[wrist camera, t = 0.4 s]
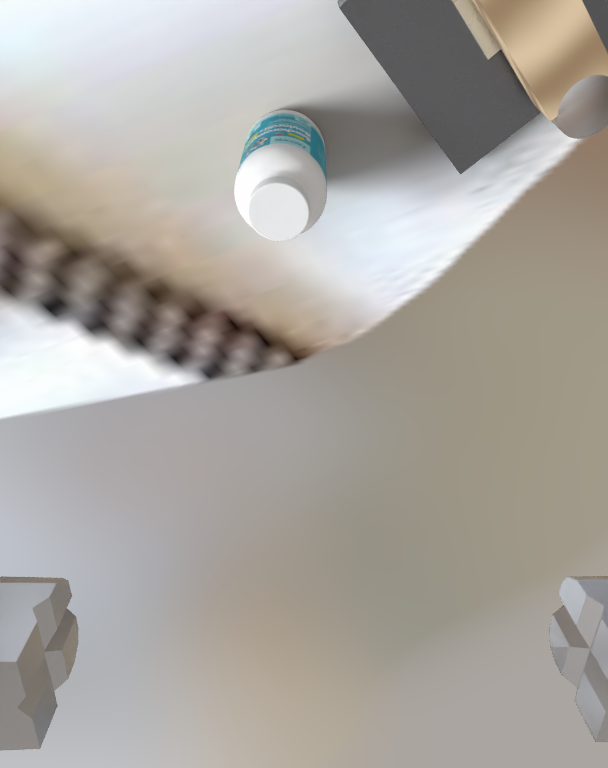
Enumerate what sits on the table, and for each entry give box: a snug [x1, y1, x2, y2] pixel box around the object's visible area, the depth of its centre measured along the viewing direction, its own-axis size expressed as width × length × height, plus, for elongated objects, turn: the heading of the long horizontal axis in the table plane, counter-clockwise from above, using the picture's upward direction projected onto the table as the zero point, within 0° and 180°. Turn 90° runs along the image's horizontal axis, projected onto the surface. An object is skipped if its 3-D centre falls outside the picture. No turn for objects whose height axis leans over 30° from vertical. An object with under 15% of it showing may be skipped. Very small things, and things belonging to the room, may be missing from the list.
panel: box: [338, 0, 608, 174], centre depth 43 cm, size 20×18×4 cm
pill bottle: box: [234, 110, 327, 241], centre depth 47 cm, size 8×7×14 cm
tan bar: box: [472, 0, 608, 139], centre depth 39 cm, size 21×5×4 cm, turn 43°
